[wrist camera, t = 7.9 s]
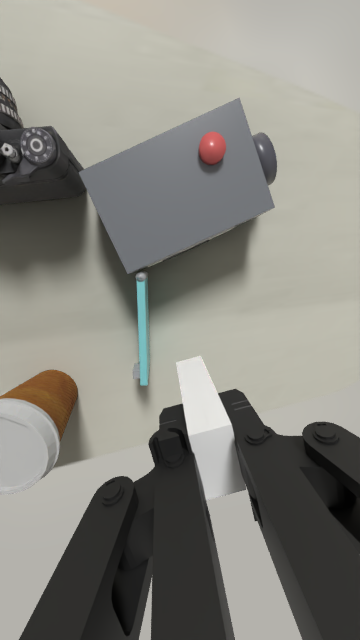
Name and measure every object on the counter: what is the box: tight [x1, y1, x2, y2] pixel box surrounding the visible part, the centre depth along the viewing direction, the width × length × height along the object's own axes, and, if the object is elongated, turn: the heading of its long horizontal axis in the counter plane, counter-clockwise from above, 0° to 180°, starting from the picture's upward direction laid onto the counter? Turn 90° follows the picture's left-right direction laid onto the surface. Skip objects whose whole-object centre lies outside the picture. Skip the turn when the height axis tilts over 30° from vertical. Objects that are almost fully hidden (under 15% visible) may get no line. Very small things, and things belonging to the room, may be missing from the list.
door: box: [133, 271, 150, 385], centre depth 30 cm, size 12×2×6 cm, turn 0°
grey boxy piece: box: [79, 98, 277, 274], centre depth 27 cm, size 18×10×8 cm, turn 114°
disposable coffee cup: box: [0, 370, 78, 494], centre depth 29 cm, size 10×10×12 cm
